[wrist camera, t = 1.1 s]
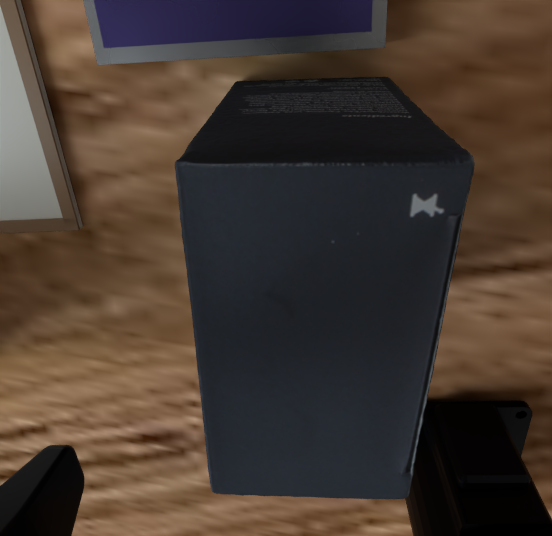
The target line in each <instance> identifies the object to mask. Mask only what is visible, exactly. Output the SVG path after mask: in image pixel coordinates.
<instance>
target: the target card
mask: <svg viewBox="0 0 552 536" xmlns="http://www.w3.org/2000/svg"><path fill="white" fill-rule="evenodd" d="M82 227H83V225H82V221H81V217H80V214H79V210H78V206H77V203H76V199H75V196H74V192H73V188H72V185H71V181H70V177H69V174H68V170H67V167H66V163H65V159H64V156H63V152H62V148H61V145H60V141H59V138H58V134H57V130H56V127H55V123H54V119H53V116H52V112H51V109H50V105H49V101H48V98H47V94H46V90H45V87H44V83H43V79H42V76H41V72H40V69H39V65H38V61H37V58H36V54H35V50H34V47H33V43H32V40H31V36H30V32H29V29H28V25H27V21H26V18H25V14H24V11H23V7H22V3H21V0H0V233H24V232H49V231H74V230H80V229H81V228H82Z"/></svg>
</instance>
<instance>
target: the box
mask: <svg viewBox="0 0 552 536" xmlns="http://www.w3.org/2000/svg"><path fill="white" fill-rule="evenodd" d="M175 170H176V179H177V186H178V196H179V207H180V220H181V227H182V238H183V244H184V252H185V259H186V267H187V277H188V286H189V293H190V301H191V309H192V318H193V328H194V338H195V347H196V358H197V368H198V375H199V385H200V393H201V402H202V412H203V422H204V432H205V440H206V452H207V459H208V471H209V477H210V484H211V490H212V492H214V493H217V494H235V495H258V496H293V497H321V498H357V499H403V498H407V497H408V496H409V493H410V487H411V481H412V477H413V474H414V463H415V459H416V452H417V444H418V441H419V435H420V431H421V427H422V424H423V417H424V411H425V407H426V403H427V396H428V391H429V385H430V382H431V378H432V373H433V370H434V362H435V358H436V352H437V348H438V341H439V336H440V332H441V328H442V322H443V316H444V312H445V307H446V300H447V295H448V290H449V285H450V281H451V276H452V271H453V266H454V262H455V256H456V251H457V247H458V242H459V236H460V230H461V225H462V220H463V215H464V210H465V205H466V201H467V197H468V193H469V190H470V184H471V179H472V176H473V171H474V159H473V156H472V155H471V154H470V153H469V152H468V151H467V150H465V149H463V148H461V146H460V145H459V144H457V143H456V142H455V140H454V139H452V138H450V137H449V136H448V135H447V134H446V133H445V132H444V131H443V130H441V129H440V128H439V127H438V126H436V125H435V124H434V122H433V121H432V120H431V119H430V118H429V117H427V116H426V115H425V114H424V113H423V112H422V110H421V109H420V108H418V107H417V105H415V104H414V103H413V102H412V101H411V100H410V99H409V97H407V96H406V95H405V94H404V93H403V92H402V91H401V90H400V89H399V87H398V86H397V85H396V84H395V83H394V82H393V81H392V80H391V79H390V78H388V77H377V78H364V77H358V78H331V79H326V78H322V79H298V80H262V81H237V82H235V83H234V85H233V86H232V88H231V89H230V91H229V92H228V93H227V94H226V96H225V97H224V99H223V100H222V101H221V103H220V104H219V105H218V106H217V107H216V109H215V111H214V112H213V113H212V115H211V116H210V118H209V119H208V120H207V122H206V123H205V124H204V126H203V127H202V128H201V129H200V131H199V132H198V133H197V135H196V136H195V137H194V138H193V140H192V141H191V142H190V144H189V145H188V147H187V149H186V151H185V153H184V154H183V155H182V157H181V158H180V159H178V160H177V161H176V162H175Z"/></svg>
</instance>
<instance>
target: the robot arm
mask: <svg viewBox="0 0 552 536" xmlns="http://www.w3.org/2000/svg"><path fill="white" fill-rule="evenodd" d="M519 411H521V412H519ZM531 417H532V411H531V409H530V407H529V405H528V404H527V403H526V402H524V401H483V402H428V403H426V407H425V411H424V417H423V424H422V427H421V431H420V435H419V441H418V444H417V452H416V459H415V463H414V474H413V477H412V481H411V487H410V493H409V496H408V497H407V498H405V500H406V504H407V509H408V514H409V518H410V523H411V527H412V532H413V536H552V519H551V517H550V515H549V513H548V511H547V509H546V507H545V505H544V503H543V501H542V498H541V496H540V494H539V492H538V490H537V488H536V486H535V484H534V482H533V480H532V478H531V476H530V474H529V472H528V470H527V468H526V466H525V464H524V462H523V460H522V458H521V454H522V450H523V446H524V443H525V439H526V435H527V432H528V428H529V425H530V421H531ZM83 489H84V474H83V471H82V469H81V466H80V463H79V460H78V458H77V455H76V452H75V450H74V448H73V447H72V446H70V445H51V446H48V447H46V448H44V449H43V450H42V451H41V452H40V453H38V454H37V455H36V456H35V457H34V458H33V459H31V460H30V461H29V462H28V463H27V464H26V465H24V466H23V467H22V468H21V469H20V470H19V471H17V472H16V473H15V474H14V475H13V476H12V477H10V478H9V479H8V480H7V481H6V482H5V483H3V484H2V485H1V486H0V536H71V535H72V531H73V527H74V524H75V520H76V516H77V512H78V508H79V505H80V501H81V497H82V493H83Z"/></svg>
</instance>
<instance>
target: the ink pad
mask: <svg viewBox="0 0 552 536" xmlns="http://www.w3.org/2000/svg"><path fill="white" fill-rule="evenodd" d="M83 1H84V6H85V10H86V15H87V19H88V24H89V28H90V33H91V38H92V42H93V47H94V51H95V56H96V60H97V65H106V64H123V63H140V62H156V61H173V60H189V59H206V58H222V57H239V56H255V55H272V54H289V53H305V52H322V51H338V50H355V49H371V48H385V41H386V20H387V0H83Z"/></svg>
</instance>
